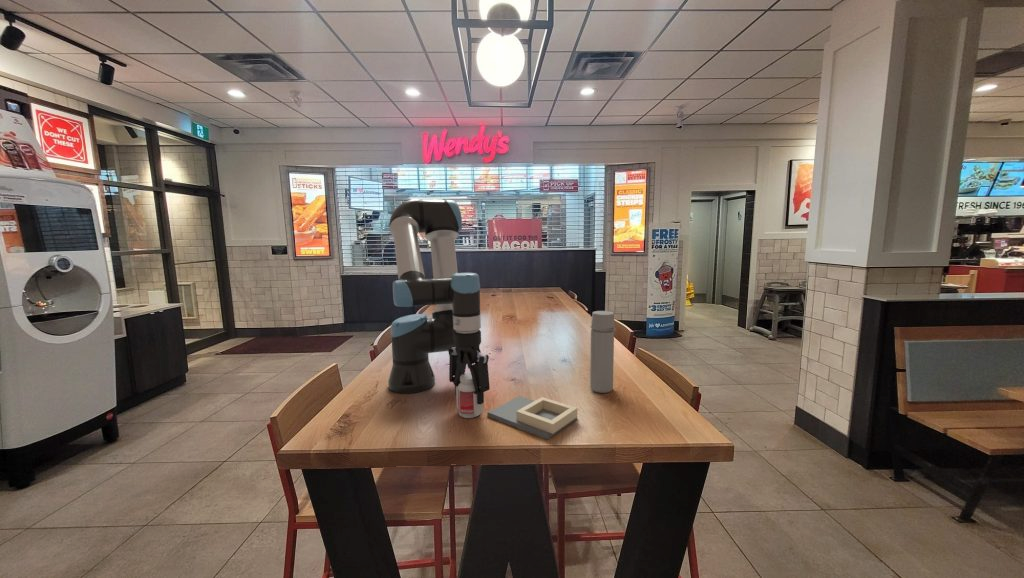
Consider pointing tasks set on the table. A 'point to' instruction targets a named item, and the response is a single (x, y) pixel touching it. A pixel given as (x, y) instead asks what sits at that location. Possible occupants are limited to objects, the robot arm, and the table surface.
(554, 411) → the socket board
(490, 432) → the table surface
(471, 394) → the pill bottle
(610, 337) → the water bottle
